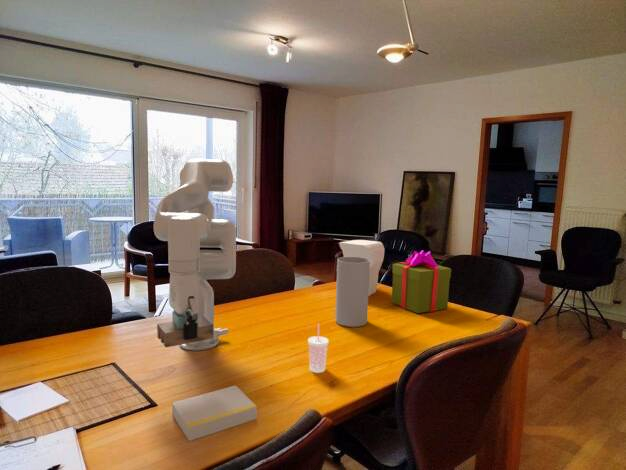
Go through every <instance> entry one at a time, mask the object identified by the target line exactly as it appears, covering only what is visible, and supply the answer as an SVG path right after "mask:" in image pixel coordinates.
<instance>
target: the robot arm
mask: <svg viewBox="0 0 626 470" xmlns="http://www.w3.org/2000/svg"><path fill="white" fill-rule="evenodd" d="M179 181H180V182H179V186H178V188H176V189H174V190H173V191H171V192H170V193H168V194H167V195H166V196H164V197H163V198H162V199H161V200H160V201H159V203H158V205H157V207H156V211H155V215H154V220H153V232H154V236H155V237H156V239H158V240H159V241H163V242H167V246H168V247H167V249H168V250H167V252H168V253H167V254H168V273H169V274H170V275H169V289H168V292H169V293H168V294H169V295H168V296H169V297H168V305H169V306H170V308H172V309H173V312H174V311H176V312H177V313H178V314H182V313H183V314H184V320H185V324H184V339H185V340H189V339H194V338H197V318H198V317H202V316H203V317H205V318H206V319H207V320H208V321H210V322H211V323H212V324H213V338H212V339H207V340H202V341H196V342H191V343H186V344H181V345H179V346H180V347H181V348H182V349H183V350H188V351H206V350H209V349H212V348H215V347H216V346H217V345H219V343H220V342H219V341H220V340H219V339H220V338H219V337H220V336H224V335H225V336H226V335H228V334H229V329H228V328H223V329H222V327H218V328H215V294H214V292H215V291H214V289H213V287H212V286H211V285H210V283H209V282H208V281H207V280H228V279H232V278H233V277H234V276H235V274H236V270H237V269H236V268H237V267H236V266H237V264H236V263H237V233H236V232H237V231H236V226H235V224H234V222H233V221H232V220H230V219H226V218H225V219H224V218H220V219H218V218H216V219H215V218H214V217H215V216H214V214H215V206H214V204H213V202H212V201H211V200H210V199H209V196H210V195H209V194H210V192H212V193H214V192H217V193H218V192H220V193H221V192H223V193H224V192H226V193H227V192H230V190H231V189H232V188H233V183H234V175H233V171H232V167H231V165H230V164H229V163H228V162H227V161H226V160H223V159H215V158H214V159H211V158H210V159H207V158H193V159H190V160H188V161H186V162H185V164H184V165H183V167H182V169H180V173H179ZM200 248H220V249H200ZM188 309H190V310H191V311H186V310H188ZM188 314H191V315H190V316H189V318H188V316H187V315H188ZM197 315H198V317H197Z"/></svg>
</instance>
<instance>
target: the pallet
mask: <svg viewBox="0 0 626 470" xmlns="http://www.w3.org/2000/svg"><path fill="white" fill-rule="evenodd" d="M156 324H157V325H156V326H157V327H156V329H157V339H158V340H160V342H161V343H162V344H163V346H164V347H165V348H170V347H175V346H180V345H181V344H186V343H191V342H196V341H202V340H207V339H212V338H213V324H212V323H211V322H210V321H208V320H207V319H206V318H205V317H203V316H202V317H198V326H197V338H194V339H189V340H185V339H184V328H182V329H178V328H177V327H176V326H175V325H174V324H173V320H172V321H166V322H162V323H161V322H160V323H156Z"/></svg>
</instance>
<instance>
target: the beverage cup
mask: <svg viewBox="0 0 626 470" xmlns="http://www.w3.org/2000/svg"><path fill="white" fill-rule="evenodd" d="M307 344H308V353H309V354H308V357H309V360H308V361H309V371H310V372H312V373H316V374H317V373H318V374H319V373H323V372H325V371H326V362H327V352H328V345H329V338H328V337H324V336H320V322H319V323H317V336H310V337H308V339H307Z"/></svg>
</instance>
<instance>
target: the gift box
mask: <svg viewBox="0 0 626 470" xmlns="http://www.w3.org/2000/svg"><path fill="white" fill-rule="evenodd" d="M431 253H432V252H431V251H428V252H425V250H424V249H423V250H421V251H420V252H418V251H416V250H414V251H413V253H411V255H410V256H408V258H406V260H405V262H404V261H402V262H401V261H399V262H397V263H392V271H391V272H392V289H391V303H393V304H395V305H398V306H400V307H401V308H402V309H405V310H409V311H411V312H414V313H416V314H421V313H426V312H429V313H431V312H433V313H434V312H435V311H439V310H445V309H448V306H449V294H450V293H449V291H450V280H451V277H452V268H450V267H447V266H443V265H439V264H438V263H436V261H435V259H434V258H433V256H432V255H431Z"/></svg>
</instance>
